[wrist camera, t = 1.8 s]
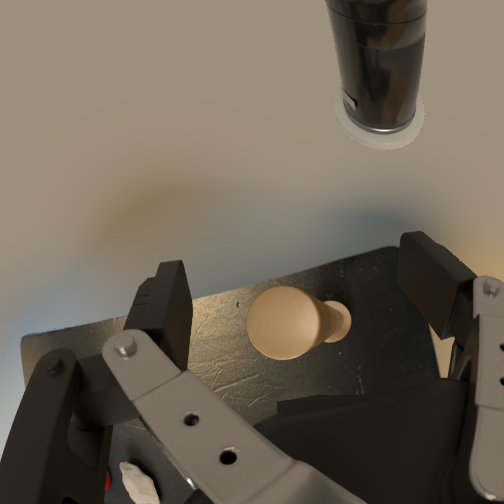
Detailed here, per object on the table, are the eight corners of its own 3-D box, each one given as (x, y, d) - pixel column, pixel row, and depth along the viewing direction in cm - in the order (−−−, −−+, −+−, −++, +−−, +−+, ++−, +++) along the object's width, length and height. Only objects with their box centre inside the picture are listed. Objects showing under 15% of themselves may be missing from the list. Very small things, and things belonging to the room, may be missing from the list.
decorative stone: (122, 456, 38) (110, 462, 35) (151, 459, 37) (138, 465, 34) (138, 502, 36) (126, 509, 33) (167, 507, 34) (156, 515, 32)
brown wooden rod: (316, 297, 35) (241, 254, 13) (355, 305, 33) (353, 275, 11) (307, 336, 34) (215, 362, 12) (346, 345, 33) (324, 393, 11)
